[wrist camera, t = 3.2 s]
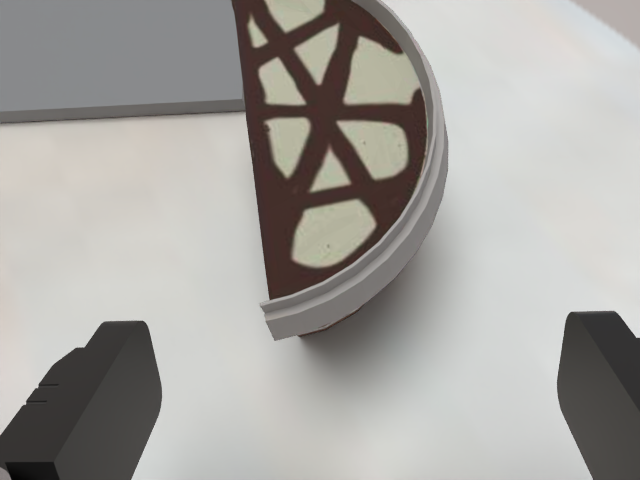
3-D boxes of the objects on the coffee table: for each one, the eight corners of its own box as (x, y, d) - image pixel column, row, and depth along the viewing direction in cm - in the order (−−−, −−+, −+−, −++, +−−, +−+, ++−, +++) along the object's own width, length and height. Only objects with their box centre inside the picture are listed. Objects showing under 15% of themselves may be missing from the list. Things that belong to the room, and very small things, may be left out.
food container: (452, 348, 23) (510, 286, 14) (303, 373, 24) (262, 326, 14) (394, 93, 28) (408, -87, 18) (268, 115, 28) (218, -52, 18)
